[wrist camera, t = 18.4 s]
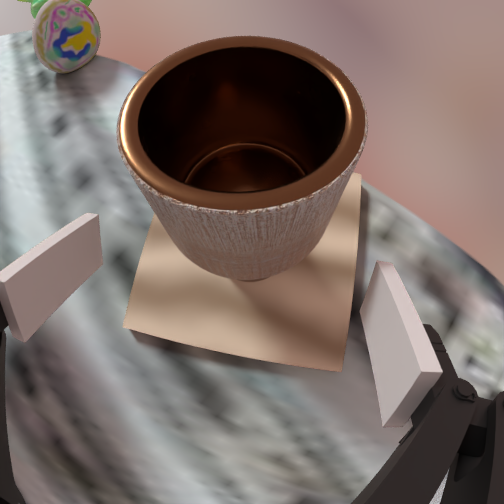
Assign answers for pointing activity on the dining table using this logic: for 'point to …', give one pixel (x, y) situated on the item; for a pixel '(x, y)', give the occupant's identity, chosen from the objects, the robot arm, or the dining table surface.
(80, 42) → the decorative egg
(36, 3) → the toy bird
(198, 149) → the planter
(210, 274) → the square base plate
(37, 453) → the dining table surface
